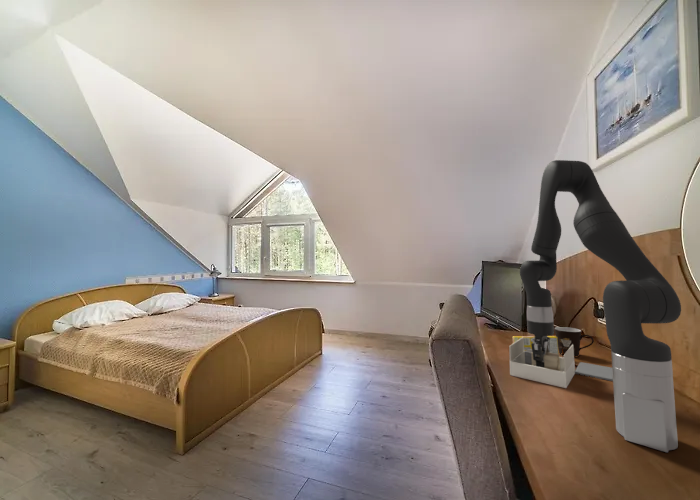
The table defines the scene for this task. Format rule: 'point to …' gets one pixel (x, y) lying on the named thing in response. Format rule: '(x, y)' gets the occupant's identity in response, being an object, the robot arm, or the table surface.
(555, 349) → the candy box
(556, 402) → the table surface
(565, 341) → the coffee mug
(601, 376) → the rubber mat
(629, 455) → the table surface
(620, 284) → the robot arm
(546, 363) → the birch block
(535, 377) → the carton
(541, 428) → the table surface
